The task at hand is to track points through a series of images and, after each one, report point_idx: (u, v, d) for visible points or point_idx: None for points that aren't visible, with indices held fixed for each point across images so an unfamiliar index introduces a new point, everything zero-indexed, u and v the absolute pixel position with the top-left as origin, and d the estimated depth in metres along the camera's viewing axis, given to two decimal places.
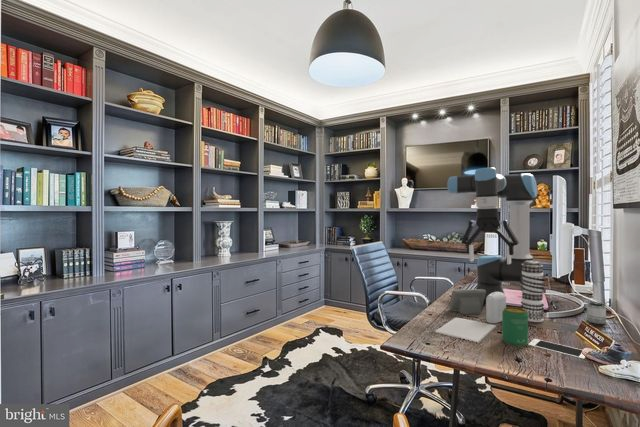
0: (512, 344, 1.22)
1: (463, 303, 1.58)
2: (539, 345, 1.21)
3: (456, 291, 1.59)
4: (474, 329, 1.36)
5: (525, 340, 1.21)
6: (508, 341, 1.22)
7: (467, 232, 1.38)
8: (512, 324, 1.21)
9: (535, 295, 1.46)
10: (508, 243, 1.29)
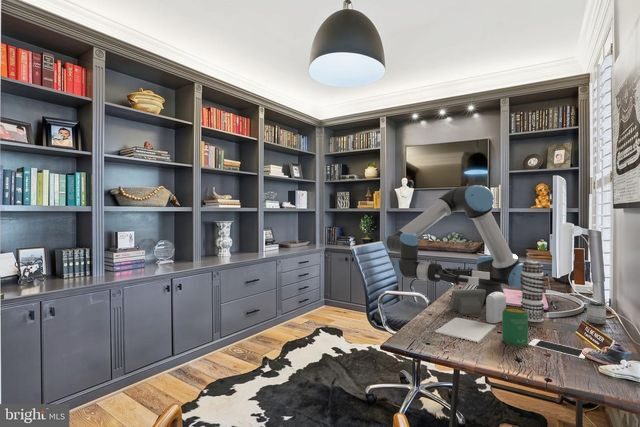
0: (512, 344, 1.22)
1: (463, 303, 1.58)
2: (539, 345, 1.21)
3: (456, 291, 1.59)
4: (474, 329, 1.36)
5: (525, 340, 1.21)
6: (508, 341, 1.22)
7: None
8: (512, 324, 1.21)
9: (535, 295, 1.46)
10: None
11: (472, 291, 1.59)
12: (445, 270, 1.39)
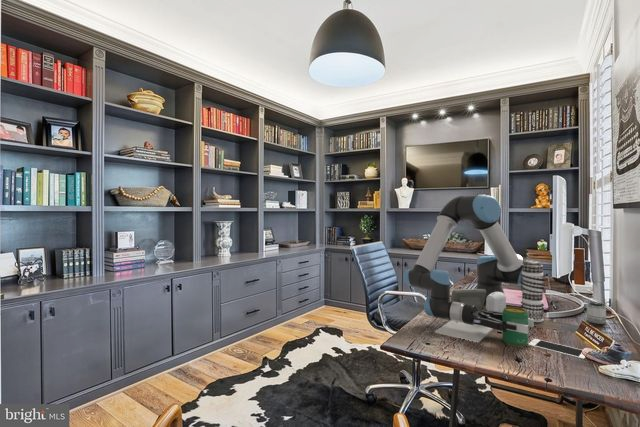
0: (512, 344, 1.22)
1: None
2: (539, 345, 1.21)
3: (456, 291, 1.59)
4: (474, 329, 1.36)
5: (525, 340, 1.21)
6: (508, 341, 1.22)
7: None
8: None
9: (535, 295, 1.46)
10: None
11: (472, 291, 1.59)
12: (482, 313, 1.30)
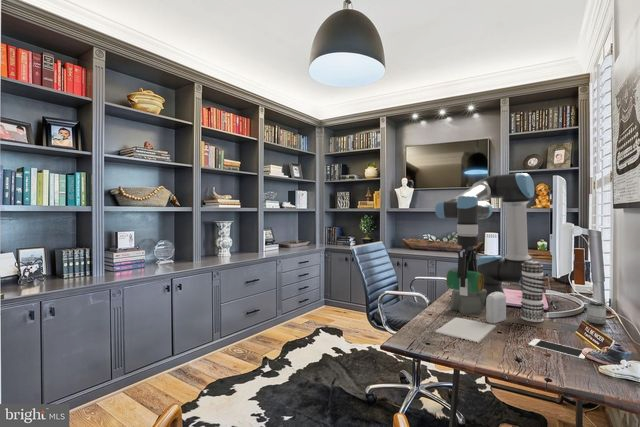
0: (447, 280, 1.38)
1: (463, 302, 1.59)
2: (539, 345, 1.21)
3: (456, 290, 1.60)
4: (474, 329, 1.36)
5: None
6: (449, 278, 1.37)
7: None
8: None
9: (535, 295, 1.46)
10: None
11: None
12: (470, 255, 1.33)
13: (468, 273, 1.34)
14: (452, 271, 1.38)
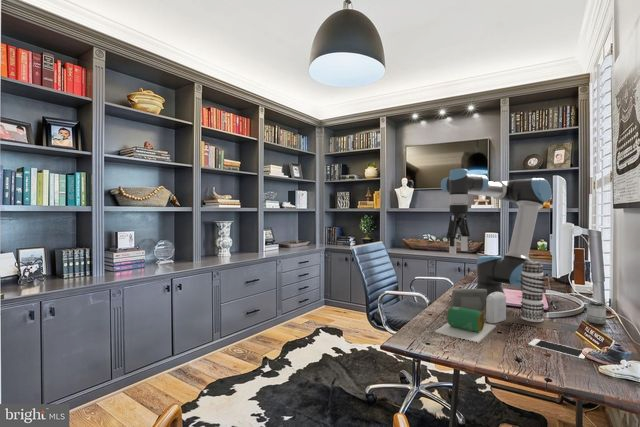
0: (448, 318, 1.38)
1: (463, 302, 1.59)
2: (539, 345, 1.21)
3: (456, 290, 1.60)
4: None
5: (454, 326, 1.38)
6: (449, 315, 1.37)
7: None
8: (465, 322, 1.33)
9: (535, 295, 1.46)
10: None
11: (473, 291, 1.60)
12: (460, 221, 1.50)
13: (469, 312, 1.34)
14: (453, 309, 1.38)
